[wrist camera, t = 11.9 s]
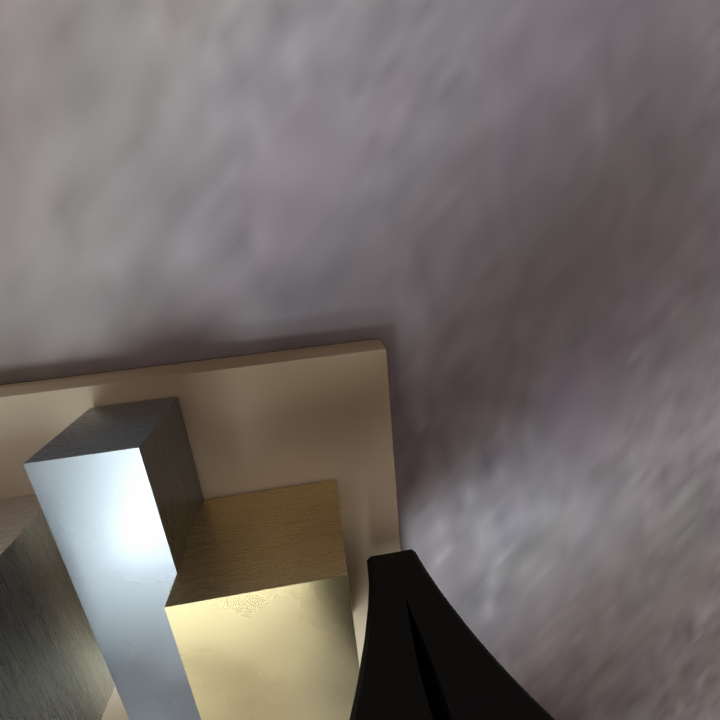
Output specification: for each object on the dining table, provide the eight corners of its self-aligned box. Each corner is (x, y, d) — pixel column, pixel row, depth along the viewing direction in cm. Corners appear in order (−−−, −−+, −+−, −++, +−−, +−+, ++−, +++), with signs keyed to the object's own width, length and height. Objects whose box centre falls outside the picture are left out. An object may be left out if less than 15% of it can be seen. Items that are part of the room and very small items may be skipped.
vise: (403, 650, 15) (431, 770, 12) (-101, 750, 13) (-234, 922, 10) (379, 338, 11) (410, 385, 8) (-334, 426, 9) (-676, 532, 6)
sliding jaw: (361, 681, 14) (377, 811, 11) (193, 715, 13) (160, 862, 10) (322, 377, 10) (330, 441, 7) (90, 407, 10) (-10, 491, 6)
